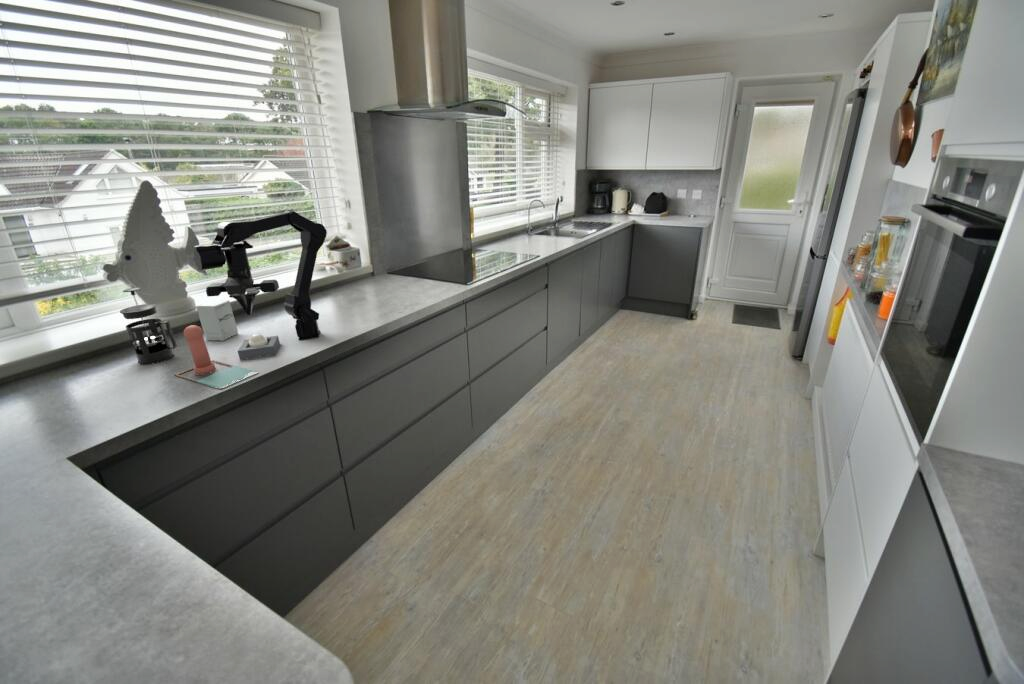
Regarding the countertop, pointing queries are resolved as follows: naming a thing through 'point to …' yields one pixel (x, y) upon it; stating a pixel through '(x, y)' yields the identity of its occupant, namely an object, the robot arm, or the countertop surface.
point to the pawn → (198, 350)
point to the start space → (193, 368)
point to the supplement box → (217, 320)
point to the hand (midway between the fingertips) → (249, 314)
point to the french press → (147, 352)
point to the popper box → (259, 348)
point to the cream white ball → (258, 340)
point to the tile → (225, 376)
